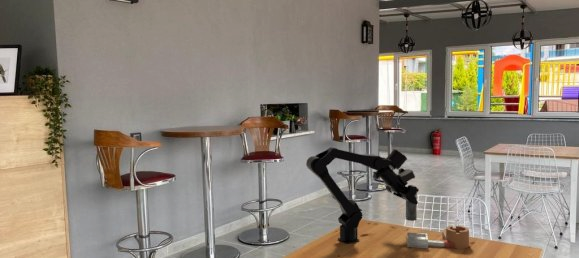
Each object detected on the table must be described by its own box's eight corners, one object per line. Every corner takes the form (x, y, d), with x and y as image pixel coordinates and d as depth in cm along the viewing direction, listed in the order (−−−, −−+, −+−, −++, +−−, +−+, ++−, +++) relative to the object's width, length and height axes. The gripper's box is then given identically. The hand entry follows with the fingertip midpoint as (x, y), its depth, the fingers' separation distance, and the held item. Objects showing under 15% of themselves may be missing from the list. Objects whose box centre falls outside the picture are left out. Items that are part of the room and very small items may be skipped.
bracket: (471, 250, 171) (471, 232, 171) (447, 249, 173) (448, 231, 172) (461, 235, 189) (461, 219, 189) (440, 234, 191) (440, 218, 190)
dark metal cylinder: (411, 221, 187) (411, 195, 186) (403, 218, 191) (403, 193, 190) (419, 219, 189) (419, 193, 189) (411, 217, 193) (411, 191, 192)
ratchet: (407, 240, 182) (407, 232, 182) (453, 243, 178) (453, 235, 177) (407, 247, 175) (407, 238, 174) (455, 250, 170) (455, 241, 170)
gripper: (414, 166, 178) (439, 192, 182) (392, 160, 196) (415, 183, 200) (396, 187, 177) (421, 213, 181) (375, 179, 195) (398, 202, 199)
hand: (414, 202), depth 190 cm, fingers closed on dark metal cylinder, 4 cm apart
